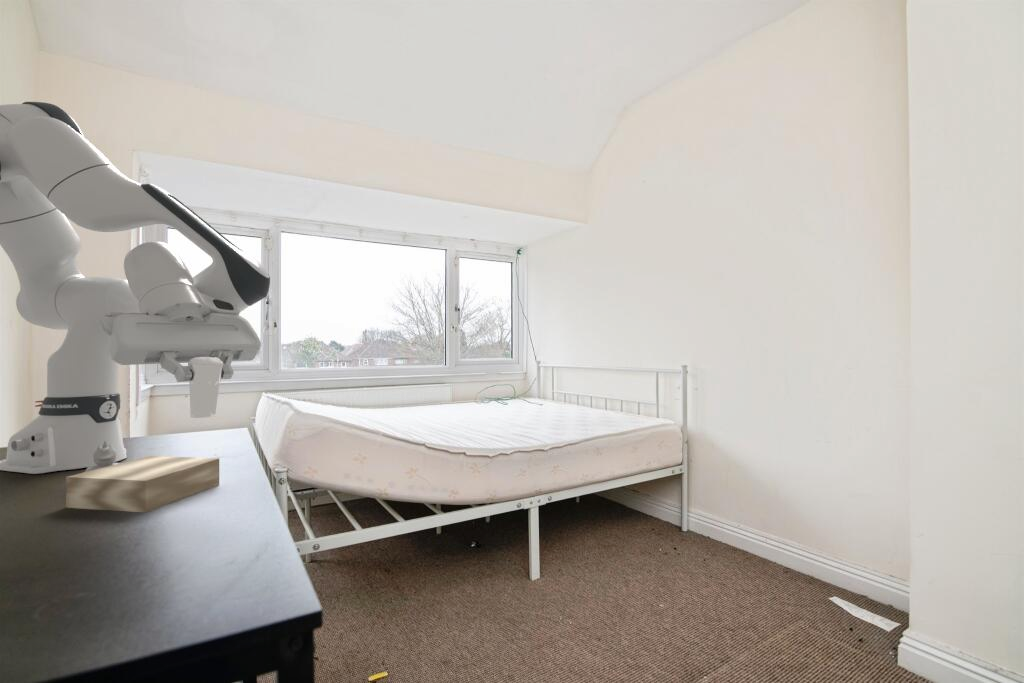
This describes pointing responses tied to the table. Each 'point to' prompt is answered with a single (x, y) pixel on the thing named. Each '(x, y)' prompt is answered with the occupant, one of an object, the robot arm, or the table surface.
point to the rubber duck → (103, 457)
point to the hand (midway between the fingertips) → (207, 377)
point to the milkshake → (204, 385)
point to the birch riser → (141, 483)
